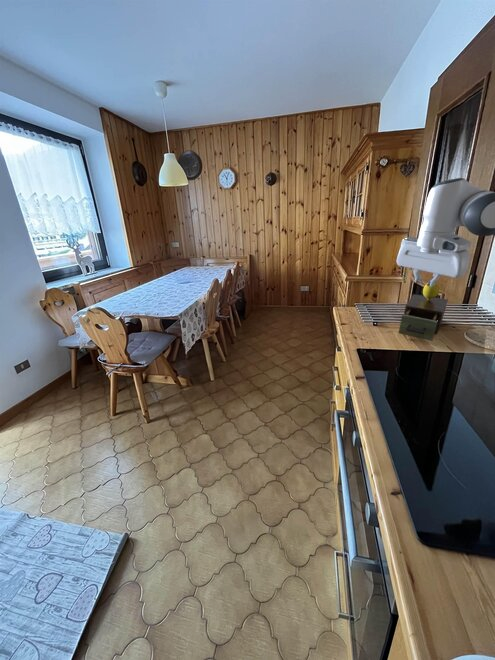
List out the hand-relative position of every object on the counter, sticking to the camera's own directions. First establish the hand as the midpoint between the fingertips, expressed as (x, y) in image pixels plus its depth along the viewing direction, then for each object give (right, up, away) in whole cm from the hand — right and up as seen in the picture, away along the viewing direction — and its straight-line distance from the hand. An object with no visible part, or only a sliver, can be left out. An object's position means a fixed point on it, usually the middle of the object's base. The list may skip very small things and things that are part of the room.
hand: (424, 284), depth 91 cm
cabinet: (+17, -12, +29) cm, 36 cm away
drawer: (+10, -16, +21) cm, 28 cm away
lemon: (+19, -2, +27) cm, 33 cm away
